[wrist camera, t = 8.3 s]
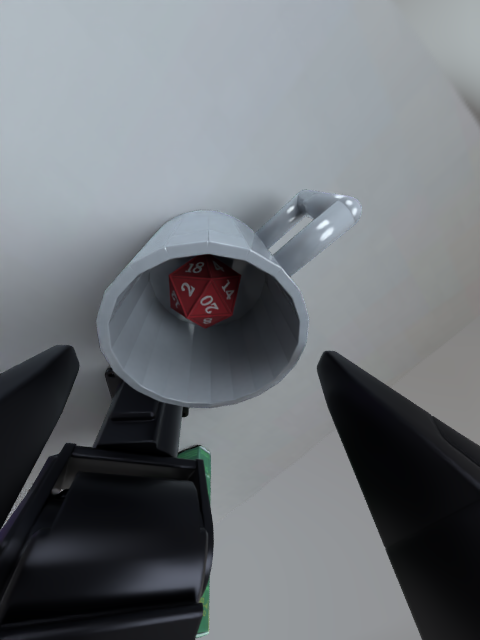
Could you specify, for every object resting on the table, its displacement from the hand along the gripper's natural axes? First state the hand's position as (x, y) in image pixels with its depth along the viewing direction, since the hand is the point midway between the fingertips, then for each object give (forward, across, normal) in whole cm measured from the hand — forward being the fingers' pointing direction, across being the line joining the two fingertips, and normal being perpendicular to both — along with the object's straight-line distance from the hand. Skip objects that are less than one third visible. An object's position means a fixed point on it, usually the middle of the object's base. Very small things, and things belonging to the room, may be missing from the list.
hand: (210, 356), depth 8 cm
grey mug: (+8, -1, -1) cm, 8 cm away
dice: (+7, 0, 0) cm, 7 cm away
